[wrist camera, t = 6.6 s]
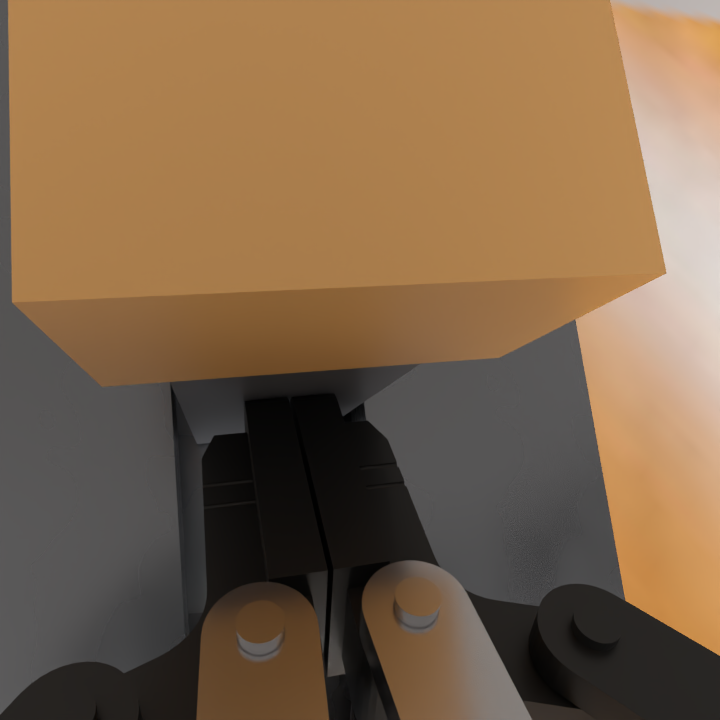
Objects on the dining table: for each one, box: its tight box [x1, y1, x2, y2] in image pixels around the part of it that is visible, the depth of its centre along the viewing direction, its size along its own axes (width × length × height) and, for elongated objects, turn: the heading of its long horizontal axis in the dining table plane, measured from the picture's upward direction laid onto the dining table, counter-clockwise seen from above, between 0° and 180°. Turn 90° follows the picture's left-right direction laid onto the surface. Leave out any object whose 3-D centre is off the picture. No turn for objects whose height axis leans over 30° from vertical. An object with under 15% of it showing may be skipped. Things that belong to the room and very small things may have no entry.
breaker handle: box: [8, 0, 666, 444], centre depth 11 cm, size 4×4×14 cm
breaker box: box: [0, 0, 625, 720], centre depth 15 cm, size 24×14×6 cm, turn 6°
